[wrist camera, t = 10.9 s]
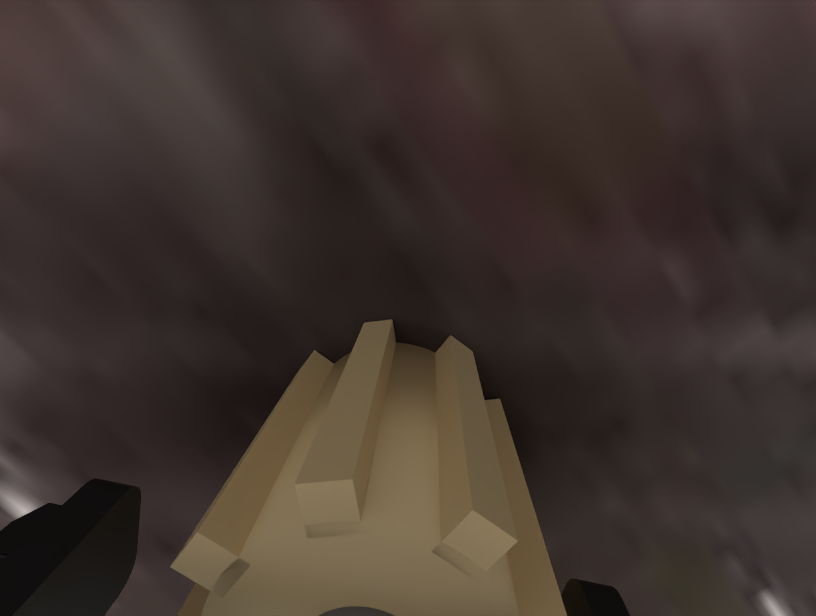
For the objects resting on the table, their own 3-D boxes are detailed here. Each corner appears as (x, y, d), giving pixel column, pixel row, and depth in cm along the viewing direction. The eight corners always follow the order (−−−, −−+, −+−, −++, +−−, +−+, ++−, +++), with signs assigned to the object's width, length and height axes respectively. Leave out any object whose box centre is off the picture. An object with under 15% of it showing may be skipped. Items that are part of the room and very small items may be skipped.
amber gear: (492, 308, 13) (576, 490, 5) (509, 501, 14) (589, 837, 7) (268, 333, 13) (71, 533, 6) (310, 517, 15) (198, 847, 8)
